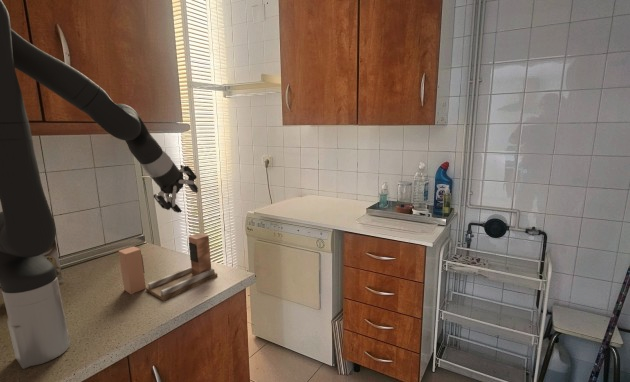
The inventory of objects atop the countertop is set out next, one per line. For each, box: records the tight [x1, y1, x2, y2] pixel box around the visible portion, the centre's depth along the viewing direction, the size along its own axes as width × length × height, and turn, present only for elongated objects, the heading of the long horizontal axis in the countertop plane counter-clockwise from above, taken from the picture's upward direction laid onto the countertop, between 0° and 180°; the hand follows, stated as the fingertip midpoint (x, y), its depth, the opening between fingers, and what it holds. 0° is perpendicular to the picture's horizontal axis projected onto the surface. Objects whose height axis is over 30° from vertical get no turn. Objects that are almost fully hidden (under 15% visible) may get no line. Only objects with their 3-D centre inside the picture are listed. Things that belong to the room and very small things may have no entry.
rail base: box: [145, 232, 218, 302], centre depth 105 cm, size 19×10×14 cm, turn 143°
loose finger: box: [118, 245, 147, 295], centre depth 102 cm, size 5×4×13 cm
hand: (187, 201), depth 108 cm, fingers open, 8 cm apart
